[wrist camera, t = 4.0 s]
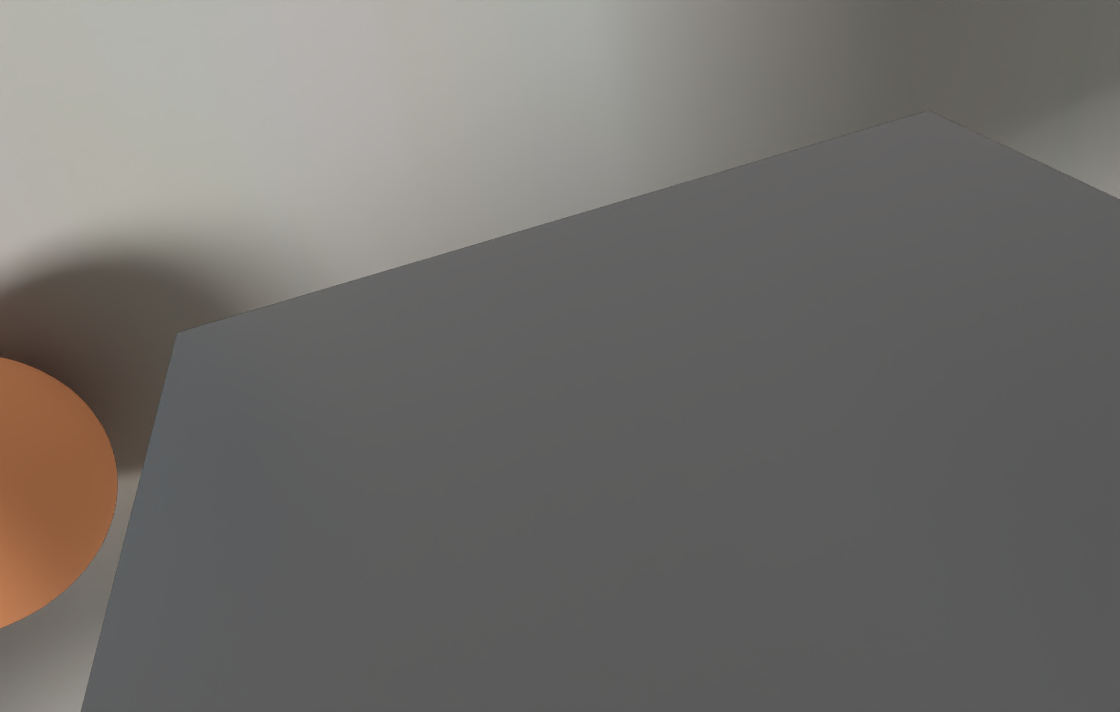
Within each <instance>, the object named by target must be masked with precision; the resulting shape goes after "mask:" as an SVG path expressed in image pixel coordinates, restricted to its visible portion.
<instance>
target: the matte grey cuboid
mask: <svg viewBox="0 0 1120 712" xmlns="http://www.w3.org/2000/svg"><path fill="white" fill-rule="evenodd" d="M81 712H1120V199H1118V198H1115V197H1113V196H1111V195H1109V194H1107V193H1105V192H1103V191H1100V190H1098V189H1096V188H1094V187H1092V186H1090V185H1088V184H1085V183H1083V182H1081V181H1079V180H1077V179H1075V178H1073V177H1070V176H1068V175H1066V174H1064V173H1062V172H1060V171H1058V170H1055V169H1053V168H1051V167H1049V166H1047V165H1045V164H1043V163H1040V162H1038V161H1036V160H1034V159H1032V158H1030V157H1028V156H1025V155H1023V154H1021V153H1019V152H1017V151H1015V150H1012V149H1010V148H1008V147H1006V146H1004V145H1002V144H1000V143H997V142H995V141H993V140H991V139H989V138H987V137H985V136H982V135H980V134H978V133H976V132H974V131H972V130H970V129H967V128H965V127H963V126H961V125H959V124H957V123H955V122H952V121H950V120H948V119H946V118H944V117H942V116H940V115H937V114H935V113H933V112H931V111H929V110H928V111H925V112H922V113H918V114H915V115H911V116H908V117H905V118H901V119H898V120H894V121H891V122H888V123H884V124H881V125H878V126H874V127H871V128H867V129H864V130H861V131H857V132H854V133H851V134H847V135H844V136H840V137H837V138H834V139H830V140H827V141H823V142H820V143H817V144H813V145H810V146H807V147H803V148H800V149H796V150H793V151H790V152H786V153H783V154H780V155H776V156H773V157H769V158H766V159H763V160H759V161H756V162H752V163H749V164H746V165H742V166H739V167H736V168H732V169H729V170H725V171H722V172H719V173H715V174H712V175H709V176H705V177H702V178H698V179H695V180H692V181H688V182H685V183H681V184H678V185H675V186H671V187H668V188H665V189H661V190H658V191H654V192H651V193H648V194H644V195H641V196H637V197H634V198H631V199H627V200H624V201H621V202H617V203H614V204H610V205H607V206H604V207H600V208H597V209H594V210H590V211H587V212H583V213H580V214H577V215H573V216H570V217H566V218H563V219H560V220H556V221H553V222H550V223H546V224H543V225H539V226H536V227H533V228H529V229H526V230H523V231H519V232H516V233H512V234H509V235H506V236H502V237H499V238H495V239H492V240H489V241H485V242H482V243H479V244H475V245H472V246H468V247H465V248H462V249H458V250H455V251H452V252H448V253H445V254H441V255H438V256H435V257H431V258H428V259H424V260H421V261H418V262H414V263H411V264H408V265H404V266H401V267H397V268H394V269H391V270H387V271H384V272H380V273H377V274H374V275H370V276H367V277H364V278H360V279H357V280H353V281H350V282H347V283H343V284H340V285H337V286H333V287H330V288H326V289H323V290H320V291H316V292H313V293H309V294H306V295H303V296H299V297H296V298H293V299H289V300H286V301H282V302H279V303H276V304H272V305H269V306H266V307H262V308H259V309H255V310H252V311H249V312H245V313H242V314H238V315H235V316H232V317H228V318H225V319H222V320H218V321H215V322H211V323H208V324H205V325H201V326H198V327H195V328H191V329H188V330H184V331H181V332H178V333H177V335H176V339H175V343H174V347H173V351H172V355H171V359H170V363H169V367H168V370H167V374H166V378H165V382H164V386H163V390H162V394H161V398H160V402H159V406H158V410H157V414H156V418H155V422H154V426H153V430H152V433H151V437H150V441H149V445H148V449H147V453H146V457H145V461H144V465H143V469H142V473H141V477H140V481H139V485H138V489H137V492H136V496H135V500H134V504H133V508H132V512H131V516H130V520H129V524H128V528H127V532H126V536H125V540H124V544H123V548H122V551H121V555H120V559H119V563H118V567H117V571H116V575H115V579H114V583H113V587H112V591H111V595H110V599H109V603H108V607H107V610H106V614H105V618H104V622H103V626H102V630H101V634H100V638H99V642H98V646H97V650H96V654H95V658H94V662H93V666H92V669H91V673H90V677H89V681H88V685H87V689H86V693H85V697H84V701H83V705H82V709H81Z"/></svg>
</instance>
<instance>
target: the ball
mask: <svg viewBox="0 0 1120 712" xmlns="http://www.w3.org/2000/svg"><path fill="white" fill-rule="evenodd" d="M117 488H118V480H117V469H116V460H115V457H114V454H113V450H112V447H111V444H110V441H109V438H108V436H107V434H106V432H105V430H104V428H103V426H102V425H101V423H100V422H99V420H98V419H97V417H96V416H95V414H94V413H93V411H92V410H91V409H90V408H89V406H88V405H87V404H86V403H85V402H84V401H83V400H82V399H81V398H80V397H79V396H78V395H77V394H76V393H75V392H73V391H72V390H71V389H70V388H69V387H67V386H66V385H64V384H63V383H61V382H60V381H58V380H57V379H55V378H54V377H52V376H50V375H48V374H46V373H44V372H42V371H41V370H38V369H36V368H34V367H31V366H29V365H26V364H24V363H20V362H17V361H14V360H11V359H6V358H1V357H0V628H2V627H5V626H8V625H10V624H12V623H14V622H16V621H19V620H21V619H23V618H25V617H27V616H28V615H30V614H32V613H34V612H36V611H37V610H39V609H41V608H42V607H44V606H45V605H47V604H48V603H49V602H51V601H52V600H53V599H55V598H56V597H57V596H58V595H60V594H61V593H62V592H64V591H65V590H66V589H67V588H68V587H69V586H70V585H71V584H72V583H73V582H74V581H75V580H76V579H77V578H78V577H79V576H80V575H81V574H82V572H83V571H84V570H85V569H86V568H87V567H88V565H89V564H90V562H91V561H92V559H93V558H94V557H95V555H96V553H97V552H98V550H99V549H100V547H101V545H102V543H103V541H104V539H105V537H106V535H107V532H108V530H109V527H110V525H111V522H112V518H113V515H114V511H115V506H116V500H117Z"/></svg>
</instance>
